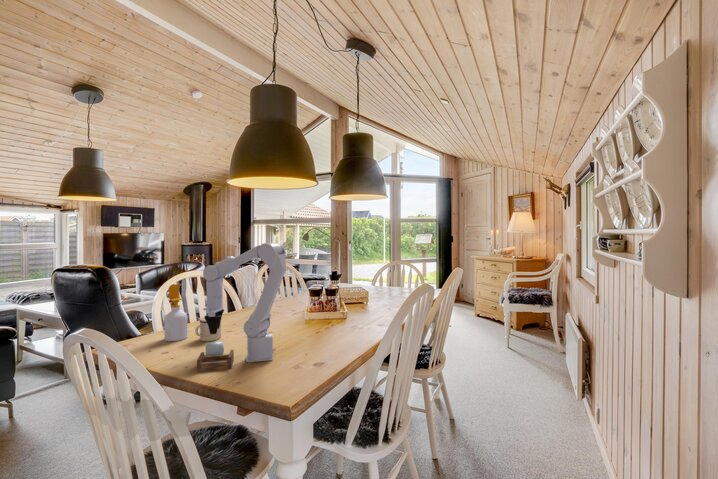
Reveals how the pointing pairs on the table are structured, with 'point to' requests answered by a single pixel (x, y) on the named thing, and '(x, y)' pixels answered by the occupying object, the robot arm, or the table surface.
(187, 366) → the table surface
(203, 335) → the beige mug
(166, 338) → the soap bottle
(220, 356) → the holder
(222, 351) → the roll
